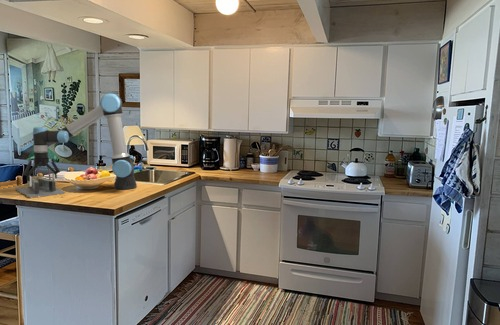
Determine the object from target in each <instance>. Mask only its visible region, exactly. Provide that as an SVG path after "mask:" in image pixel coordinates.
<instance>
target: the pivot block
mask: <svg viewBox="0 0 500 325" xmlns="http://www.w3.org/2000/svg"><path fill="white" fill-rule="evenodd" d="M32 178H35V179H36V180H37V178H42V176H40V175H39V176H38V175H34V176H33V175H32V176H31V181H32ZM26 181H27V180H26ZM27 187H28V188H32V187H30V186H29V181H27Z"/></svg>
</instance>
